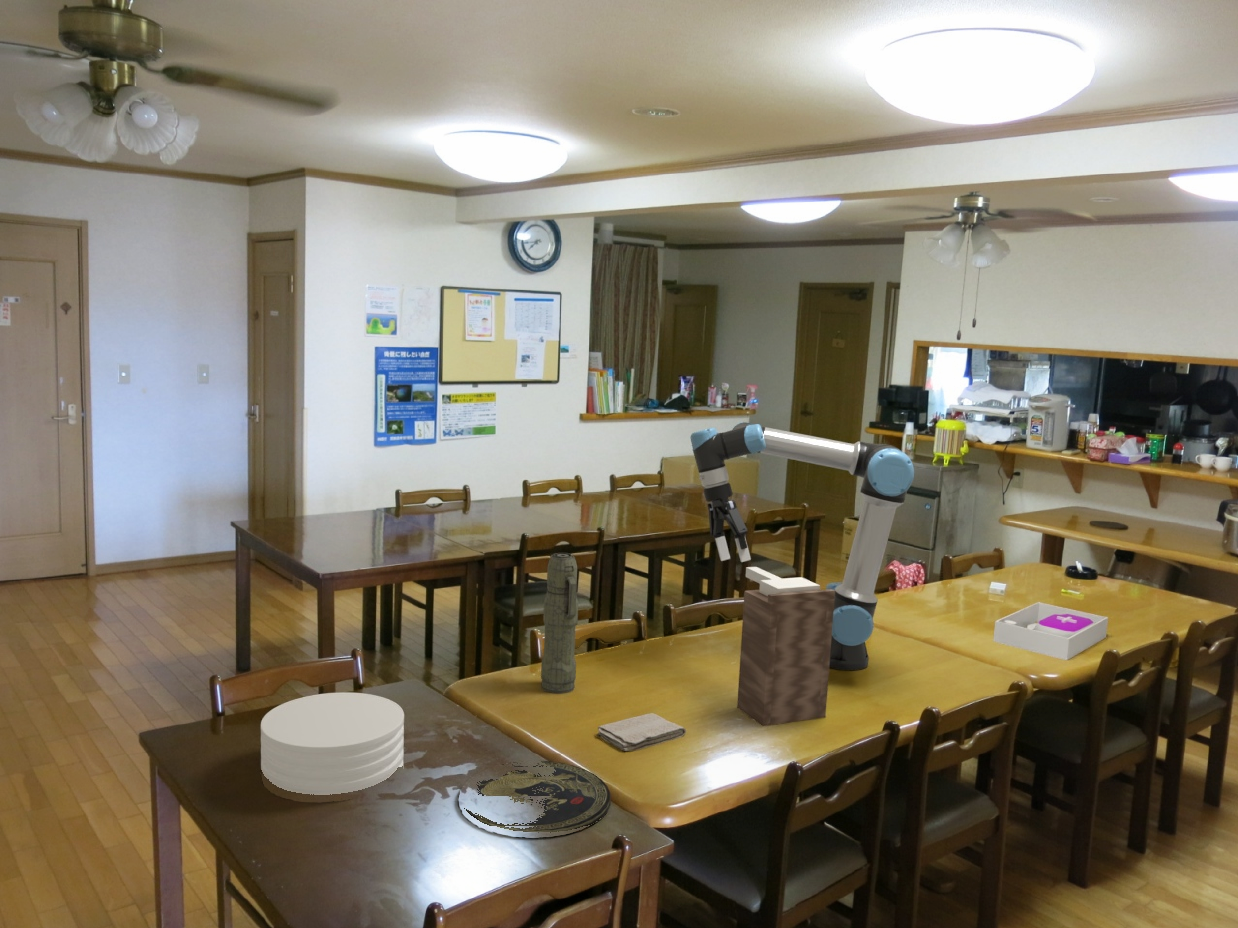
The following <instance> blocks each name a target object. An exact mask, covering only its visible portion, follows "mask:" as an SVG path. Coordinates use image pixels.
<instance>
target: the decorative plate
mask: <svg viewBox="0 0 1238 928" xmlns="http://www.w3.org/2000/svg"><path fill="white" fill-rule="evenodd" d="M526 761H527V760H523V761H522V760H521V762H526ZM540 761H541V762H542V763H545V764H546V765H547V766H550V767H554V769H555V770H556V772H555V771H554V773H552V774H553V775H554V776H553V775H552V776H553V777H554V778H553V777H551V776H550V775H549V776H550V777H549V776H548V777H549V778H547V779H548V780H546V778H545V777H546V776H545V775H544V776H545V777H542V776H541V775H540V774H539V773H538V774H539V775H540V776H538V775H537V777H536V775H535V774H532V773H530V772H527V771H525V770H523V771H519V770H515V771H518V772H515V773H514V772H512V771H511V772H508V773H506V774H505V775H503V776H502V777H500V778H501V779H502V780H501V779H496V781H495V780H493V779H490V780H488V781H486V780H483V781H482V782H480V781H479V782H480V783H481V784H479V783H478V782H477V783H478V784H479V785H480V786H479V785H477V784H476V785H477V786H478V788H479V790H480V791H479V790H478V789H477V790H478V791H479V792H480V793H479V792H478V793H479V794H482V796H484V795H486V796H509V797H511V796H512V799H510V800H513V799H514V803H515V802H518V801H520V802H524V800H525V799H524V798H525V797H523V798H519V797H521V796H551V797H549V798H551V799H549V798H545V799H547V800H544V801H545V802H544V801H543V803H545V804H542V806H543V805H545V806H544V809H545V810H547V811H545V810H544V812H543V813H545V814H541V815H543V816H541V817H542V818H540V817H539V818H537V819H536V820H538V821H534V822H536V823H534V822H532V823H527V824H529V825H527V824H525V825H521V824H519V825H515V824H518V823H514V824H512V825H509V824H507V825H504V824H502V823H500V824H497V822H493V821H491V820H489V819H487V818H485V817H483V816H481V815H480V816H479V814H478V815H475V814H477V813H475V814H473V813H472V812H471V811H469V810H467V809H466V811H467V812H468V813H469V814H470V815H471V816H473V817H474V818H476V819H477V820H479V821H480V822H482V823H484V824H487V825H489V826H497V827H500V828H504V829H509V830H513V831H523V832H538V833H539V832H550V833H551V832H557V831H558V832H559V831H568V830H572V829H577V828H580V827H583V826H588V825H591V824H593V823H595V822H596V821H598V820H599V819H600V818H602V817H603V816H604V815H605V814H606V815H607V814H608V812H609V810H608V809H610V807H611V798H612V797H611V796H612V795H611V791H610V789H609V787H608V786H607V784H606V783H605V781H604V780H602V779H601V778H600V777H599V776H597V775H596V774H595V773H593V772H591V771H589V770H587V769H585V768H582V767H579V766H577V765H576V766H575V765H572V764H567V763H563V762H558V761H557V762H556V761H550V760H540ZM513 763H517V764H521V763H518V761H513ZM501 764H502V765H504V764H505V763H501ZM506 764H511V762H506ZM537 764H538V765H540V764H539V763H537ZM538 765H536V766H538ZM512 766H514V767H528V766H520V765H518V766H515V765H513V764H512ZM536 766H533V767H536ZM541 766H542V767H543V766H544V765H541ZM541 766H539V767H541ZM547 766H546V767H547ZM504 767H508V766H504ZM506 772H507V771H506ZM511 773H512V774H511ZM541 777H542V778H544V779H545V780H544V779H541ZM556 777H557V778H556ZM551 778H552V779H551ZM545 781H546V782H545ZM539 786H540V787H539ZM536 787H537V788H536ZM543 787H544V788H543ZM532 788H533V789H532ZM540 788H542V789H543V790H542V789H540ZM537 789H539V790H540V791H539V790H537ZM532 790H536V792H535V791H532ZM542 791H543V792H542ZM538 792H539V793H538ZM534 793H536V794H534ZM479 794H478V795H479ZM517 796H518V798H514V797H517ZM530 798H531V797H530ZM519 799H520V800H519ZM516 800H517V801H516ZM528 800H531V801H533V799H527V800H526V803H527V802H530V801H528ZM542 800H543V799H542ZM537 801H538V800H537ZM540 802H542V801H540ZM540 802H539V804H541V803H540ZM531 803H533V802H531ZM536 803H537V802H536ZM521 804H524V803H521ZM531 805H532V804H531ZM546 806H547V807H546ZM538 807H539V806H538ZM541 808H542V807H541ZM464 809H465V808H464ZM607 811H608V812H607ZM606 815H605V816H606ZM539 816H540V815H539ZM481 817H482V818H481ZM603 818H604V817H603ZM603 818H602V819H603ZM530 822H531V821H530ZM598 822H599V821H598ZM522 824H524V823H522ZM595 824H596V823H595ZM505 826H534V827H533V828H532V827H529V828H525V829H523V828H522V829H520V828H514V827H511V828H509V827H505ZM536 826H537V827H536Z"/></svg>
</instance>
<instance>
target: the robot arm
mask: <svg viewBox="0 0 1238 928" xmlns="http://www.w3.org/2000/svg"><path fill="white" fill-rule="evenodd" d="M690 442H691V447H692V453H693V456H694V460H695V464H696V467H697V470H698V471H697V472H698V474H699V477H698V479H699V481H700V482H701V485H702V487H703V488H704V489H703V490H702V491H703V494H704V498H705V501H706V502H707V509H708V518H709V519H708V521H709V534H710V537H711V536H712V537H713V538H714V541H715V545H716V548H717V553H718V556H719V559H720V561H721V562H723V561H727V560H731V555H730V551H729V548H728V543H727V540H726V536H725V535H726V534H725V532H724V526H725V525H724V524H725V522H726V523H727V524H728V527H729V528H730V529H731V531H732V532H733V539H734V541H735V545H736V549H737V553H738V557H739V559H740V562H741V563H743V562H748V561H751V559H752V558H751V555H750V550H749V546H748V543H747V539H746V536H747V535H748V534H749V531H748V528H747V526H746V524H745V523H744V520H743V518H742V515H741V513H740V511H739V509H738V507H737V504H736V503H737V502H736V501H735V500H734V499H733V500H729V498H730V497H732V496H733V495H734V494H733V489H732V486H731V485H732V484H731V483H729V482H728V481H729V480H730V478H729V477H730V476H729V473H728V469H727V466H726V462H725V461H726V460H730V459H733V458H737V457H738V458H739V457H742V456H743V457H744V456H746V455H747V456H748V455H752V454H756V453H757V454H763V455H768V456H773V457H778V458H783V459H789V460H795V461H797V462H798V461H799V462H804V463H809V464H814V465H818V466H822V467H823V466H824V467H828V468H829V467H830V468H834V469H839V470H843V471H848V472H849V474H850V475H852V476H855V477H860V478H863V480H862V485H861V488H860V490H859V491H860V492H859V493H860V494H861V496H862V498H863V502H862V507H861V510H860V514H859V519H858V522H857V525H856V529H855V534H854V538H853V541H852V545H851V549H850V553H849V557H848V561H847V565H846V567H845V572H844V576H843V580H842V582H841V581H840V582H839V581H838V582H829V583H827V585H826V589H825V590H828V589H832V590H834V591H835V599H834V612H833V625H832V638H831V651H830V664H829V669H830V668H831V669H835V670H840V671H858V670H859V671H860V670H863V669H866V668H867V667H868V666H869V659H870V658H869V654H868V650H867V645H866V644H867V643H866V641H867V640H869V638H870V637H871V636H872V633H873V630H874V629H875V627H874V625H875V624H874V616H875V612H876V608H877V604H878V597H877V596H876V595H875V590H876V587H877V586H876V585H877V582H878V578H879V574H880V570H881V567H882V562H883V559H884V556H885V552H886V548H887V543H888V540H889V536H890V533H891V530H892V526H893V522H894V519H895V514H896V510H897V508H898V507H900V506H902V505H904V504H905V500H906V496H907V492H908V490H909V489H910V487H911V486H912V484H913V481H914V479H915V478H914V477H915V468H914V465H913V462H912V460H911V458H910V457H909V456H908V455H907V453H905V452H903V451H902V450H901V449H900V448H899V447H897V446H894V445H891V444H886V443H884V444H883V443H871V442H866V441H865V442H864V441H860V440H859V441H857V442H855V443H850V442H849V443H848V442H845V441H841V440H833V439H830V438H825V437H818V436H814V435H808V434H803V433H797V432H793V431H789V430H788V431H786V430H782V429H778V428H771V427H768V426H766V427H765V426H762V425H761V424H758V423H756V424H755V423H754V424H752V423H751V422H744V421H743V422H739V423H737V424H736V425H734V427H733V428H732V429H731V430H727V431H725V432H718V430H717V429H716V427H710V428H707V429H702V430H698V431H696V432H695V431H694V432H692V433H691V434H690Z"/></svg>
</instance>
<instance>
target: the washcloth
mask: <svg viewBox="0 0 1238 928" xmlns="http://www.w3.org/2000/svg"><path fill="white" fill-rule="evenodd" d="M597 730H598V733H597V734H596V735H597V736H600V738H601V739H603V740H604V741H605V742H607V743H608V744H610V745H612V746H613V747H616V748H617V749H619V750H621V751H623V752H634V751H637V750H643V749H646V748H649V747H652V746H656V745H659V744H662V743H665V742H668V741H669V742H670V741H673V740H676V739H680V738H682V737H683V736H685V735H686V732H687V730H686V728H685V727H683V726H681V725H679V724H677V723H676V722H671V721H669V720H667V719H666V718H664V717H662V716H659V715H658V714H656V713H653V712H651V713H645V714H642V715H639V716H638V715H637V716H634V717H629V718H628V717H627V718H626V719H625V718H624V719H620V720H618V721H614V722H610V723H605V724H602V725H599V726H598V728H597Z"/></svg>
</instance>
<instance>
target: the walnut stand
mask: <svg viewBox="0 0 1238 928" xmlns="http://www.w3.org/2000/svg"><path fill="white" fill-rule="evenodd" d="M759 590H760V589H751V590H749V589H748V590H744V593H743V611H742V624H741V625H742V627H741V628H742V629H741V643H740V655H739V657H740V658H739V673H738V689H737V702H736V703H737V704H736V708H737V709H738V710H740V711H741V712H742V713H744V714H745V715H747V716H748V717H750V718H751V719H752V720H754V722H756V723H757V724H759V725H760V726H762V727H766V726H773V725H781V724H787V723H794V722H795V723H796V722H802V721H807V720H815V719H817V720H818V719H822V718H826V713H827V702H828V701H827V700H828V689H829V677H830V675H829V674H830V668H829V664H830V651H831V638H832V625H833V612H834V599H835V591H834V590H832V589H828V590H826V589H820V590H815V591H803V592H791V593H778V594H768V596H766V595H764V594H762V593H760V592H759Z"/></svg>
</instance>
